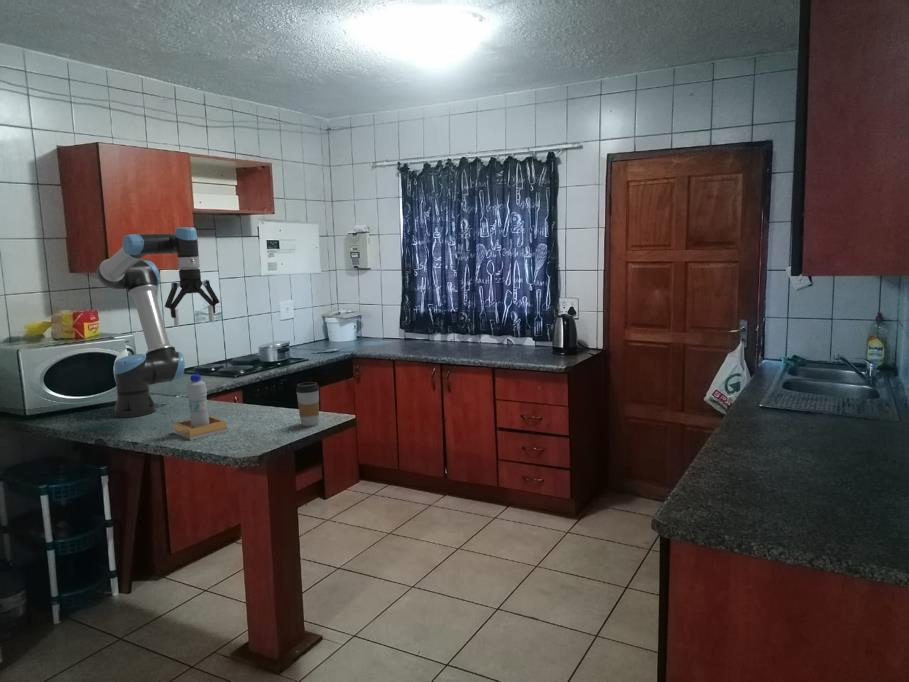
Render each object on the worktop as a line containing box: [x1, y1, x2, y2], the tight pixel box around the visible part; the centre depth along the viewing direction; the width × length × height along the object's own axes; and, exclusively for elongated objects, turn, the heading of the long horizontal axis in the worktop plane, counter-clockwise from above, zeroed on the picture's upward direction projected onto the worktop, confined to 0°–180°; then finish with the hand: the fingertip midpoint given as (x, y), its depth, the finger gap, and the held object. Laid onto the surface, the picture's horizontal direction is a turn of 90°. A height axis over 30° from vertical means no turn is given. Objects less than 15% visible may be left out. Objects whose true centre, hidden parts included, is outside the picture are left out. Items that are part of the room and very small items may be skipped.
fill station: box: [172, 414, 230, 441], centre depth 237 cm, size 15×14×4 cm
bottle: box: [186, 373, 209, 428], centre depth 235 cm, size 7×7×20 cm
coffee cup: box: [295, 381, 320, 427], centre depth 241 cm, size 8×8×15 cm
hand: (194, 324), depth 253 cm, fingers open, 13 cm apart
